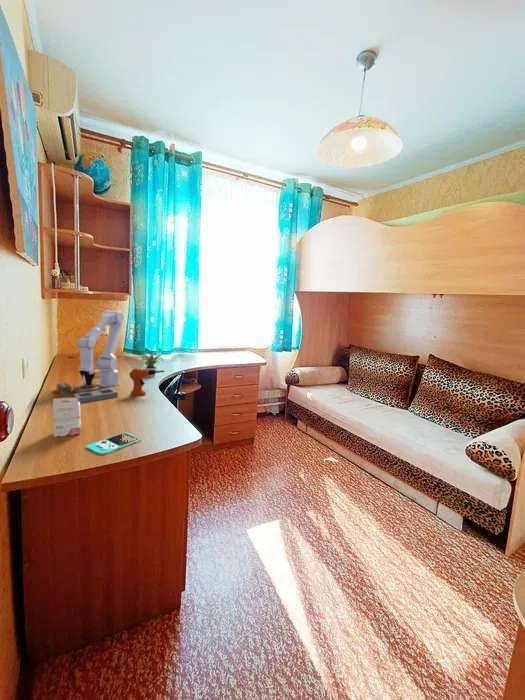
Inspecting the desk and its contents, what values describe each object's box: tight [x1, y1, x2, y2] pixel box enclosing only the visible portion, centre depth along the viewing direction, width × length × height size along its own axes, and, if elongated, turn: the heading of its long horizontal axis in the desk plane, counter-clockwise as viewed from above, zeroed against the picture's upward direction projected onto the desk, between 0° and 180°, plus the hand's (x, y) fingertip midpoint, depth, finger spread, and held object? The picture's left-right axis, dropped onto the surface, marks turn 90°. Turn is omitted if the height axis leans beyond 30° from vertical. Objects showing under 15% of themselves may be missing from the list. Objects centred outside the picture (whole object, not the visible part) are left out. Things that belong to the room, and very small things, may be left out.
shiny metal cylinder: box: [82, 375, 93, 389], centre depth 171 cm, size 4×4×9 cm
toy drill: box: [128, 368, 165, 397], centre depth 173 cm, size 5×19×15 cm, turn 100°
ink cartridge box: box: [52, 397, 82, 438], centre depth 120 cm, size 9×5×15 cm, turn 114°
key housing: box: [56, 382, 72, 395], centre depth 169 cm, size 4×10×4 cm, turn 46°
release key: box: [58, 382, 68, 387], centre depth 170 cm, size 2×9×2 cm, turn 46°
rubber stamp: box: [94, 369, 100, 378], centre depth 205 cm, size 10×6×12 cm, turn 117°
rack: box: [73, 388, 119, 404], centre depth 163 cm, size 18×8×2 cm, turn 136°
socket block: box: [73, 383, 102, 394], centre depth 172 cm, size 10×10×2 cm
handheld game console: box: [85, 431, 137, 453], centre depth 115 cm, size 10×16×1 cm, turn 148°
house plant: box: [142, 352, 160, 378], centre depth 211 cm, size 14×14×16 cm
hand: (87, 384), depth 172 cm, fingers closed on shiny metal cylinder, 4 cm apart
